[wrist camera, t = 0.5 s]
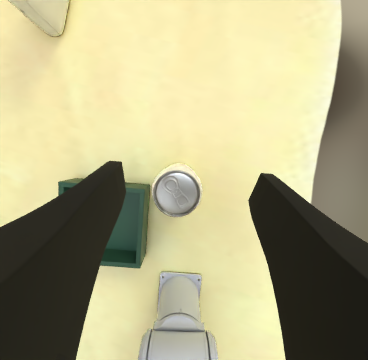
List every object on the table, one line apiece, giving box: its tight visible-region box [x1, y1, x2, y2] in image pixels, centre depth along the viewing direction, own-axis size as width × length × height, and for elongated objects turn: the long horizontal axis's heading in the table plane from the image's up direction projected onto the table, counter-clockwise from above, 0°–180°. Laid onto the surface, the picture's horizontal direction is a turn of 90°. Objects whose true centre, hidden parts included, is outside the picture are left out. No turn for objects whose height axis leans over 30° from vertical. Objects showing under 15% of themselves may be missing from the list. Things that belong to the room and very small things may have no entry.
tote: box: [58, 178, 150, 268], centre depth 31 cm, size 14×14×5 cm
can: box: [152, 163, 202, 217], centre depth 27 cm, size 6×6×12 cm
